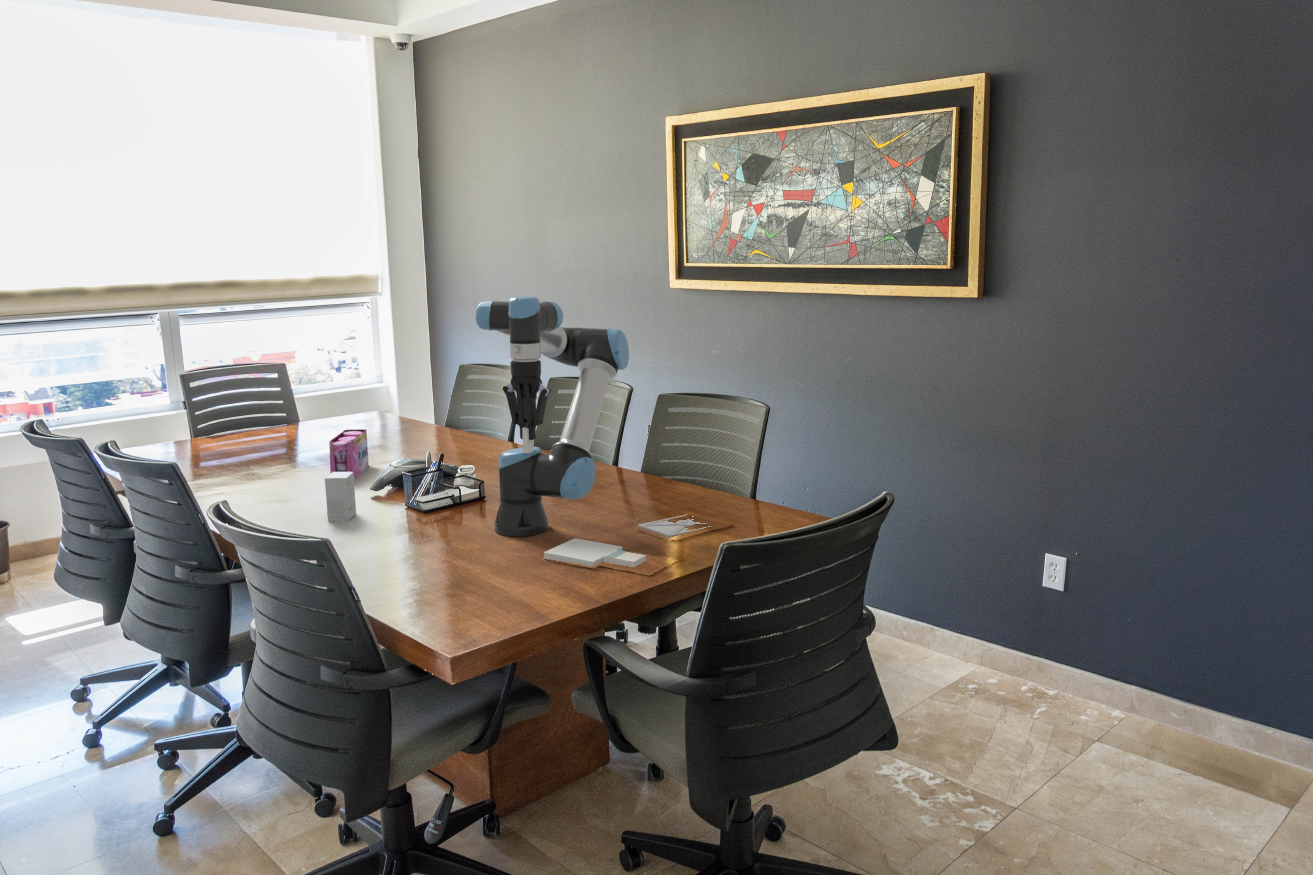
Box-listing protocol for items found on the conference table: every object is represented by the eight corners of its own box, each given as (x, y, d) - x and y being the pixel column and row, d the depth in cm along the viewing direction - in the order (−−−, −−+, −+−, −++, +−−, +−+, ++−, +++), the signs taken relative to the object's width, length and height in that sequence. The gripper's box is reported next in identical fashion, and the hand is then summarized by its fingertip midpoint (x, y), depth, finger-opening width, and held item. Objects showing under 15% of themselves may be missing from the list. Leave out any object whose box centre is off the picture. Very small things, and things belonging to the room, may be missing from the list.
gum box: (352, 481, 328) (350, 442, 326) (329, 481, 328) (326, 442, 325) (369, 465, 352) (367, 429, 349) (347, 465, 351) (344, 429, 349)
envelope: (732, 528, 277) (699, 518, 288) (732, 520, 277) (700, 510, 287) (669, 542, 262) (637, 531, 272) (669, 534, 262) (637, 523, 272)
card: (615, 557, 248) (615, 549, 248) (646, 562, 244) (646, 554, 243) (603, 563, 243) (603, 555, 242) (633, 569, 238) (633, 561, 238)
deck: (574, 545, 259) (574, 538, 258) (622, 554, 252) (622, 546, 251) (543, 559, 247) (543, 552, 246) (593, 569, 240) (593, 561, 239)
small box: (335, 513, 288) (332, 471, 286) (356, 513, 289) (354, 471, 286) (327, 521, 280) (324, 477, 278) (349, 521, 281) (346, 477, 278)
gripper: (495, 360, 240) (498, 452, 245) (540, 362, 234) (543, 457, 239) (511, 356, 246) (514, 446, 251) (555, 359, 241) (558, 451, 246)
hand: (528, 451), depth 245 cm, fingers closed
